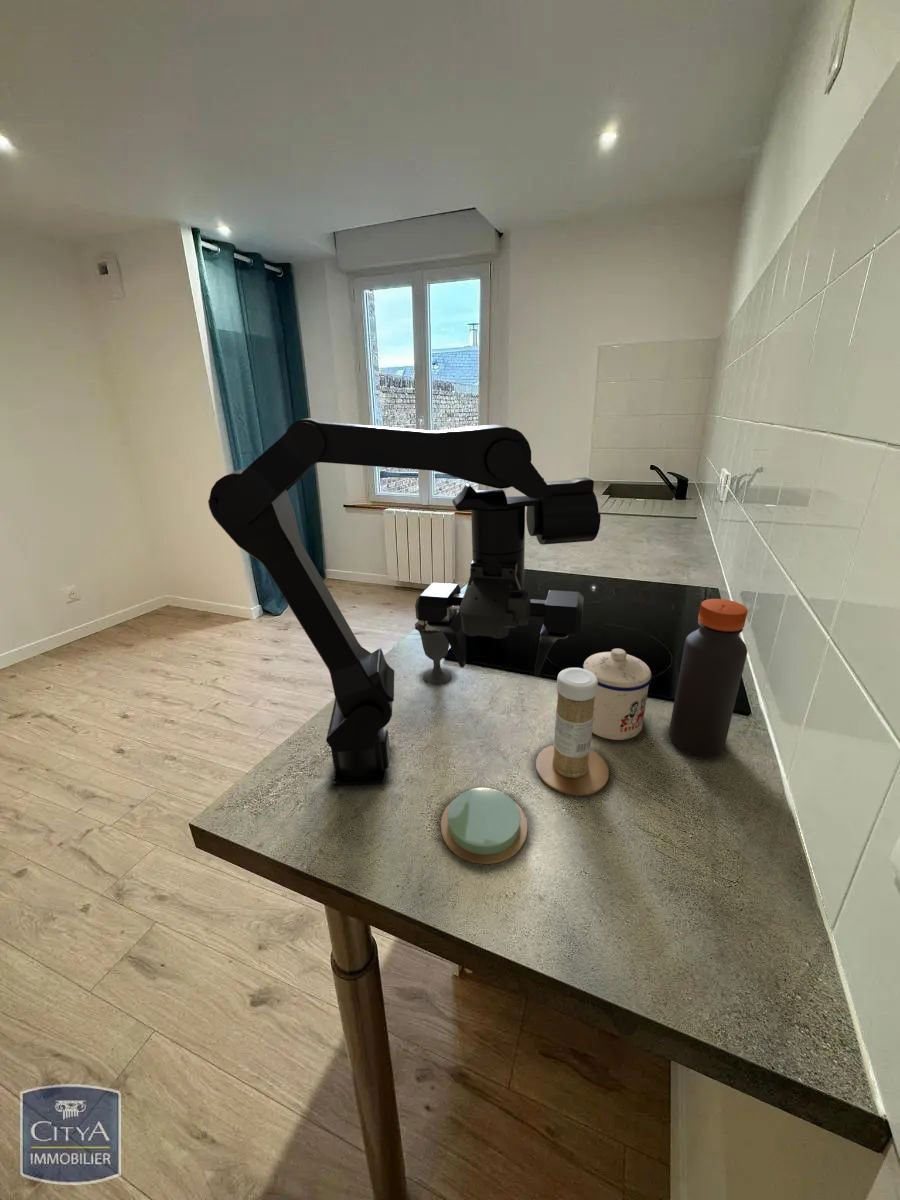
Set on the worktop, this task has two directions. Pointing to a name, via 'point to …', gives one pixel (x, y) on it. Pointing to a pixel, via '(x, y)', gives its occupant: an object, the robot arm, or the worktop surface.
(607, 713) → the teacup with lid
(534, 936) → the worktop surface
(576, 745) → the sprinkles bottle
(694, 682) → the vinegar
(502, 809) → the green flat disc
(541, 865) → the worktop surface
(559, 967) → the worktop surface
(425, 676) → the sundae
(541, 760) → the coaster
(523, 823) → the saucer coaster
